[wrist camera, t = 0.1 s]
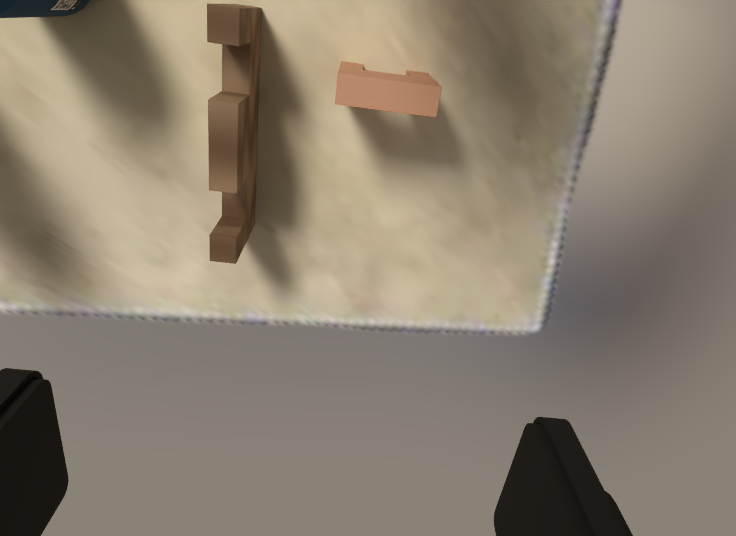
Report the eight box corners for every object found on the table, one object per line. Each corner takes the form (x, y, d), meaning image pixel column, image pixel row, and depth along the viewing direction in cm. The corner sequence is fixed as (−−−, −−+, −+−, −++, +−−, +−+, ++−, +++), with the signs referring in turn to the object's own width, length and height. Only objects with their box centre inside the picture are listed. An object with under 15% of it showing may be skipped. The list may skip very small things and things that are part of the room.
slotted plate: (341, 61, 41) (338, 72, 34) (427, 73, 42) (441, 86, 34) (339, 87, 42) (335, 104, 35) (423, 98, 42) (436, 117, 35)
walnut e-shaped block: (234, 4, 39) (207, 3, 32) (261, 7, 39) (239, 8, 32) (232, 222, 47) (209, 260, 40) (254, 224, 47) (235, 263, 40)
